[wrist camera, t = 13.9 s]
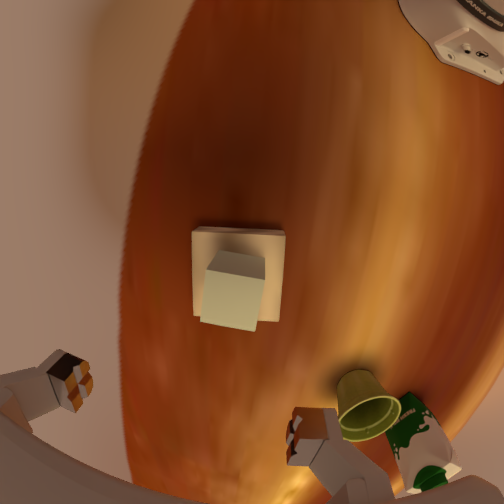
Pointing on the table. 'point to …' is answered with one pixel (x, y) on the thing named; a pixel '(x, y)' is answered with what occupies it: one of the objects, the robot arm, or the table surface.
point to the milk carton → (421, 447)
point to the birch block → (241, 242)
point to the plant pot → (364, 406)
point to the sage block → (233, 290)
